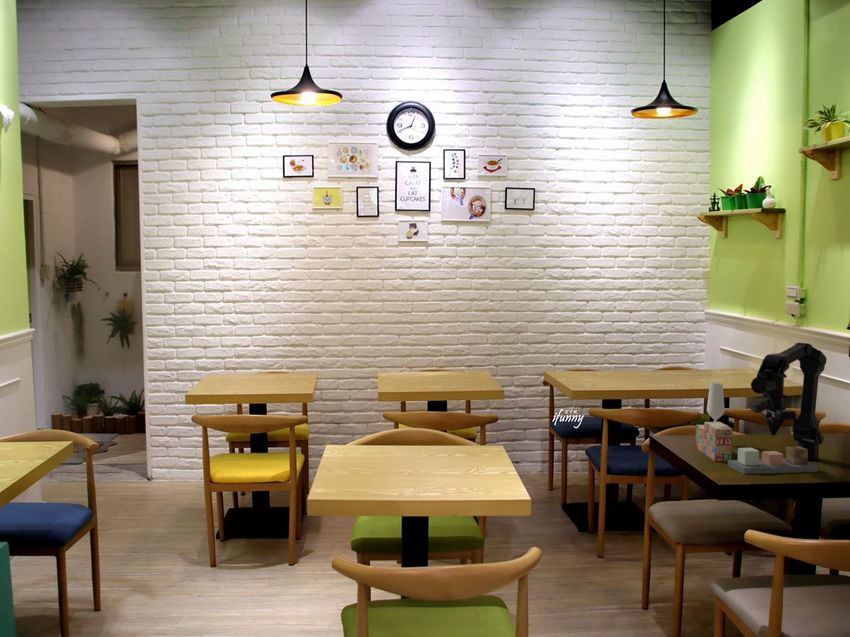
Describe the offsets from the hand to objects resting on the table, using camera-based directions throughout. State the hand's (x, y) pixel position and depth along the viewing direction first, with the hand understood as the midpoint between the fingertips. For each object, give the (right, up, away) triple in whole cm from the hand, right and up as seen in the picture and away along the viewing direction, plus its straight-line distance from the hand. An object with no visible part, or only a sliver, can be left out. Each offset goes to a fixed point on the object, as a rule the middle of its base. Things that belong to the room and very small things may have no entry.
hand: (773, 435), depth 274 cm
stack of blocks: (-13, -11, +22) cm, 28 cm away
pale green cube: (-9, -10, 0) cm, 13 cm away
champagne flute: (-5, -9, +40) cm, 42 cm away
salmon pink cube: (0, -11, +1) cm, 11 cm away
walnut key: (+9, -10, +2) cm, 13 cm away
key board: (0, -12, +1) cm, 12 cm away
